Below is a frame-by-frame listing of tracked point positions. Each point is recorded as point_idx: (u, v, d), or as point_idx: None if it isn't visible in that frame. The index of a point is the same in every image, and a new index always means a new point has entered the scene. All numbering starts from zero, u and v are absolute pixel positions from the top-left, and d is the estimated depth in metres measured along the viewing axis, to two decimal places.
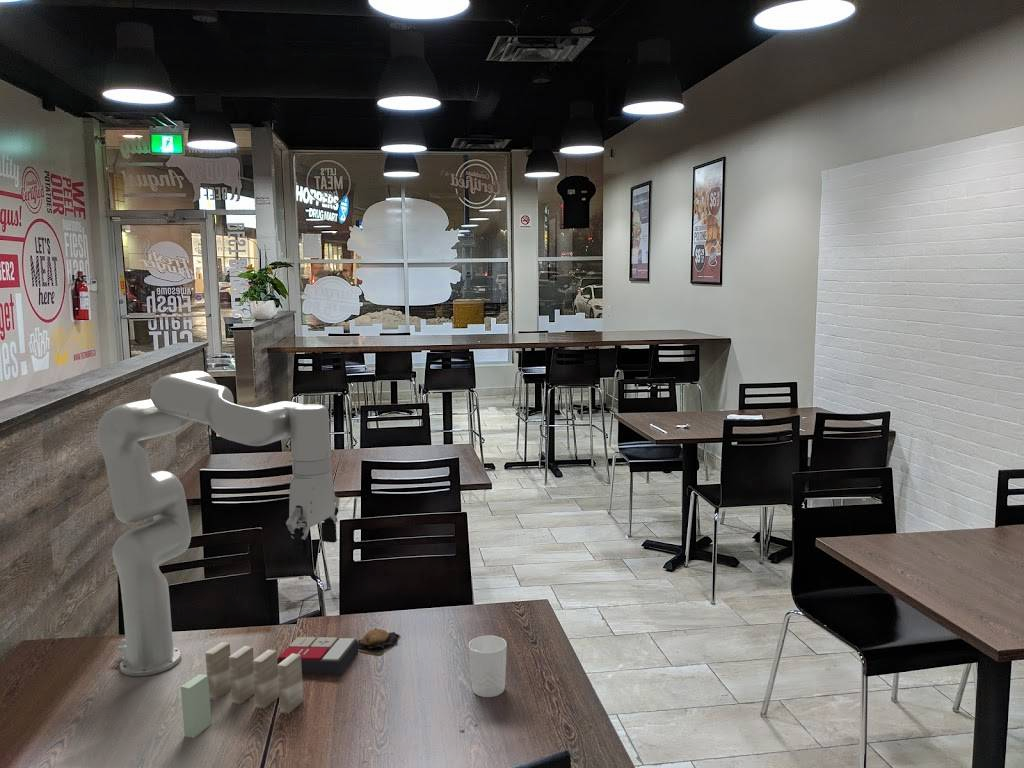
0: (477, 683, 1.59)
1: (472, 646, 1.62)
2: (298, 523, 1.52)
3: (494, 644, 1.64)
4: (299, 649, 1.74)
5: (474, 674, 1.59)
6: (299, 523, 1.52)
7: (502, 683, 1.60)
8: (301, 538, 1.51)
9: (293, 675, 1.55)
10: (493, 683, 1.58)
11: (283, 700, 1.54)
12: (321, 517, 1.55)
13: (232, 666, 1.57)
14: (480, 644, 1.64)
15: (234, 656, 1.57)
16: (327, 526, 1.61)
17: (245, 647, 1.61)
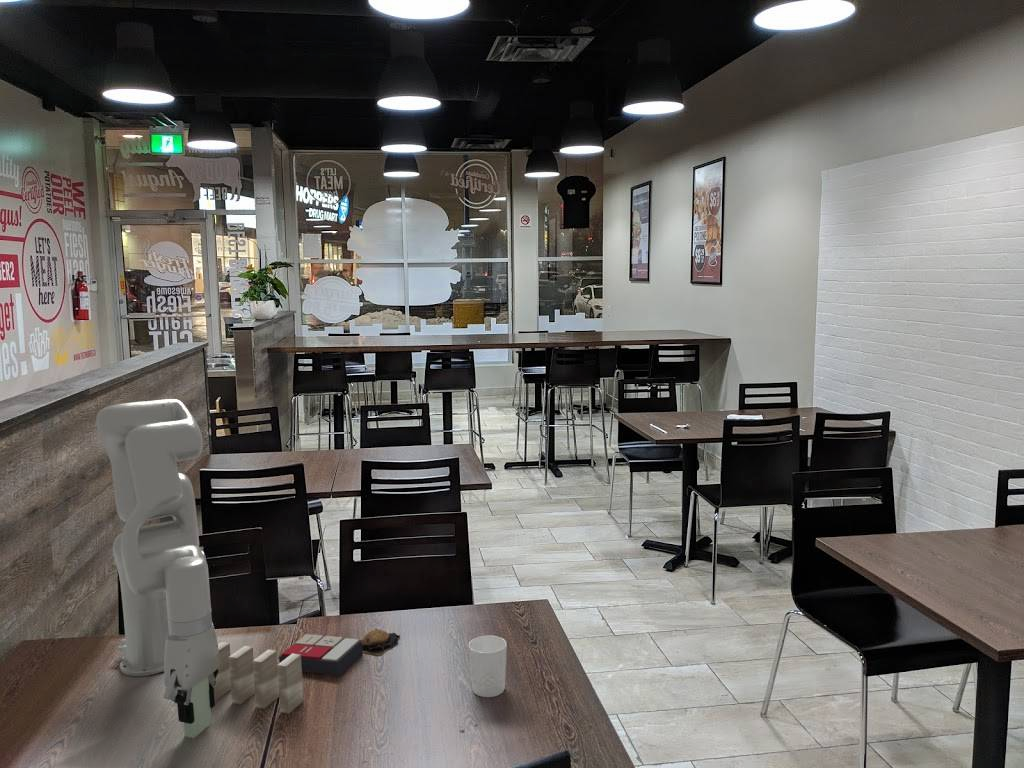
0: (477, 683, 1.59)
1: (472, 646, 1.62)
2: (178, 688, 1.45)
3: (494, 644, 1.64)
4: (303, 647, 1.75)
5: (474, 674, 1.59)
6: (179, 688, 1.45)
7: (502, 683, 1.60)
8: (184, 704, 1.44)
9: (294, 675, 1.55)
10: (493, 683, 1.58)
11: (283, 700, 1.54)
12: (200, 677, 1.46)
13: (232, 666, 1.57)
14: (480, 644, 1.64)
15: (234, 656, 1.57)
16: None
17: (245, 647, 1.61)
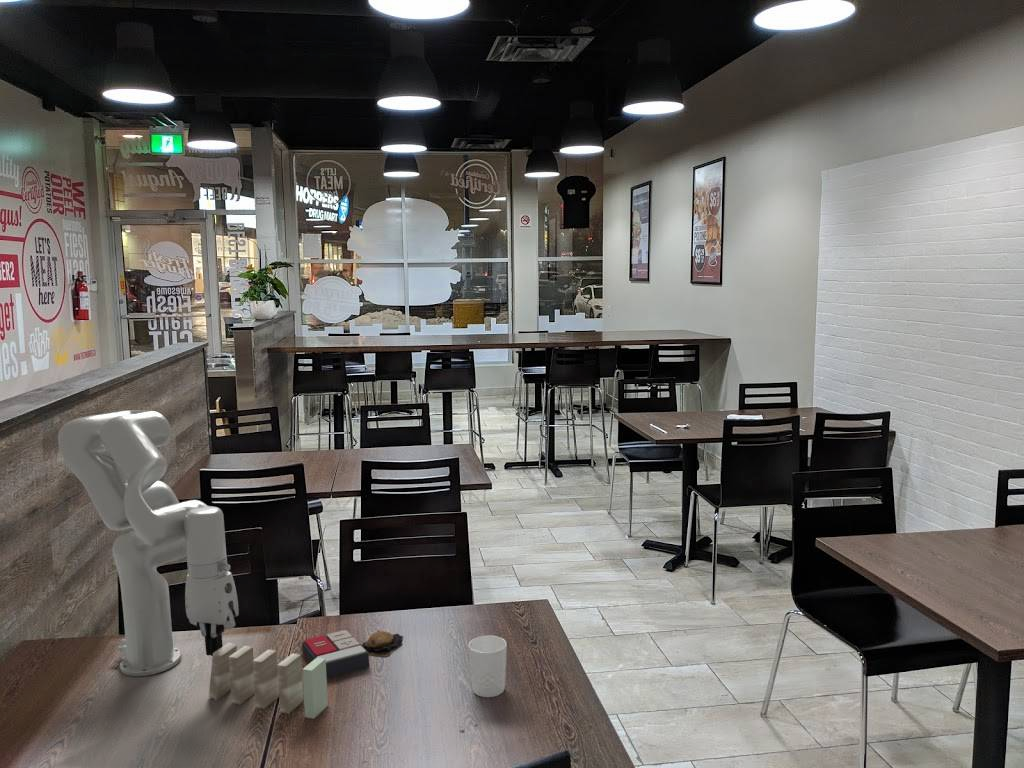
0: (477, 683, 1.59)
1: (472, 646, 1.62)
2: None
3: (494, 644, 1.64)
4: (324, 640, 1.78)
5: (474, 674, 1.59)
6: None
7: (502, 683, 1.60)
8: None
9: (293, 675, 1.55)
10: (493, 683, 1.58)
11: (283, 700, 1.54)
12: (201, 618, 1.59)
13: (232, 666, 1.57)
14: (480, 644, 1.64)
15: (234, 656, 1.57)
16: None
17: (245, 647, 1.61)
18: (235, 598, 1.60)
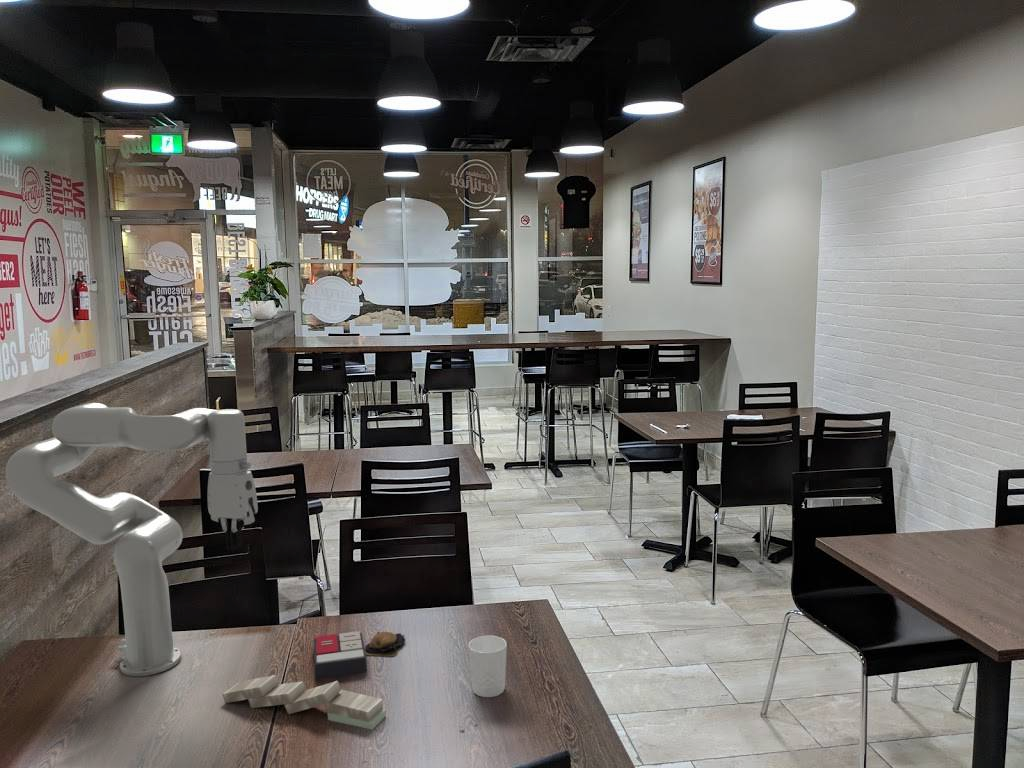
0: (477, 683, 1.59)
1: (472, 646, 1.62)
2: None
3: (494, 644, 1.64)
4: (332, 639, 1.78)
5: (474, 674, 1.59)
6: None
7: (502, 683, 1.60)
8: None
9: None
10: (493, 683, 1.58)
11: (336, 709, 1.51)
12: (222, 513, 1.68)
13: (281, 698, 1.54)
14: (480, 644, 1.64)
15: (291, 697, 1.53)
16: None
17: (302, 686, 1.57)
18: (254, 496, 1.70)
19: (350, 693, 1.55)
